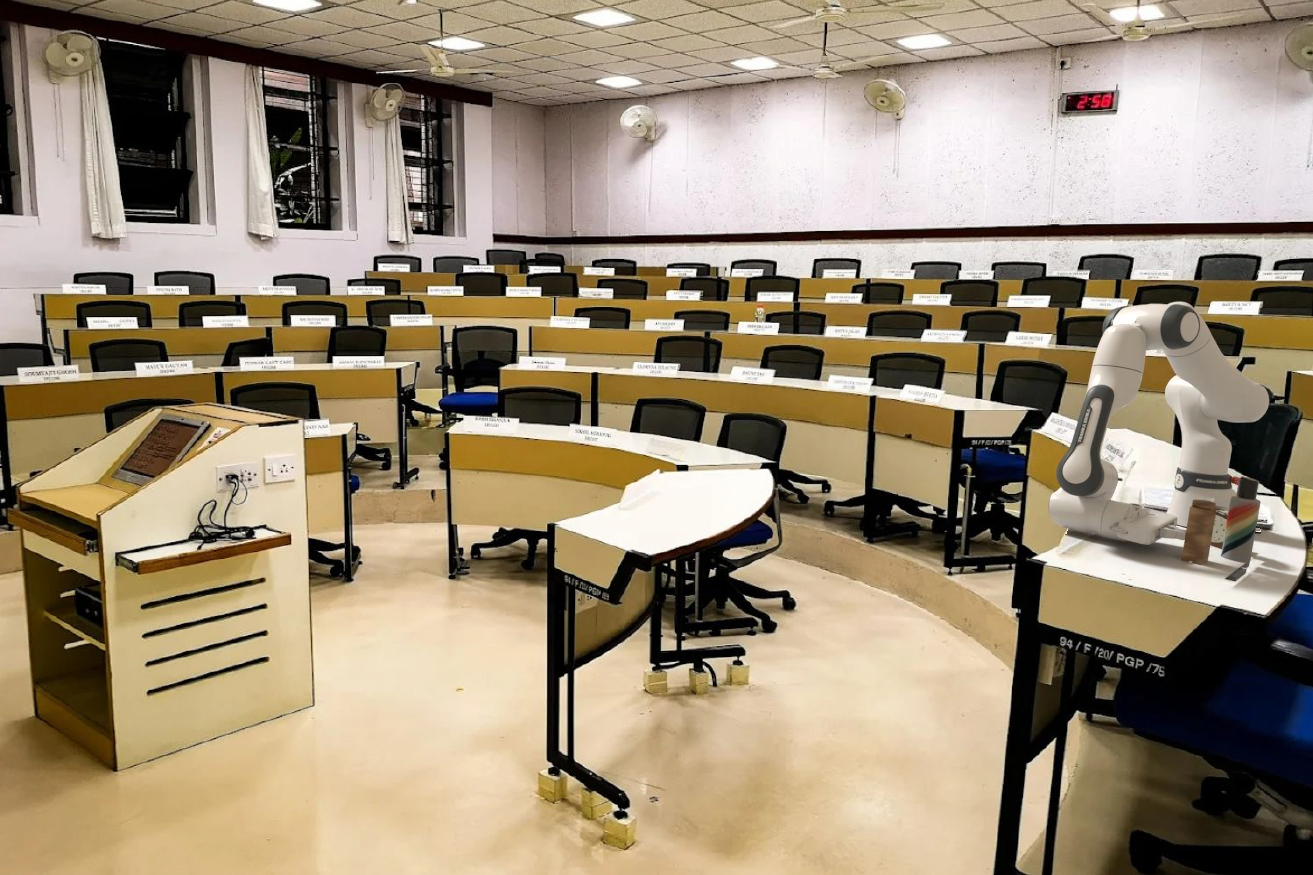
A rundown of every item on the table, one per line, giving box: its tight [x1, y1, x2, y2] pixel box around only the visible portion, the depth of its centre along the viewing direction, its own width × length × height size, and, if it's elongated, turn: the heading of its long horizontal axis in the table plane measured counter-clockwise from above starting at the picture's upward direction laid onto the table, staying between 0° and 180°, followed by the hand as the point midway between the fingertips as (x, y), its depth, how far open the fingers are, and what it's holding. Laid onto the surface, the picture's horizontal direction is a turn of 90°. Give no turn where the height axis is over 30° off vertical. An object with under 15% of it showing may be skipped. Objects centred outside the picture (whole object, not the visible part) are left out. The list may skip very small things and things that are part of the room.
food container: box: [1210, 505, 1229, 550], centre depth 222 cm, size 12×6×10 cm, turn 17°
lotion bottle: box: [1220, 475, 1261, 569], centre depth 210 cm, size 6×6×20 cm
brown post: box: [1181, 500, 1217, 565], centre depth 207 cm, size 4×8×13 cm, turn 136°
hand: (1187, 535), depth 208 cm, fingers closed
